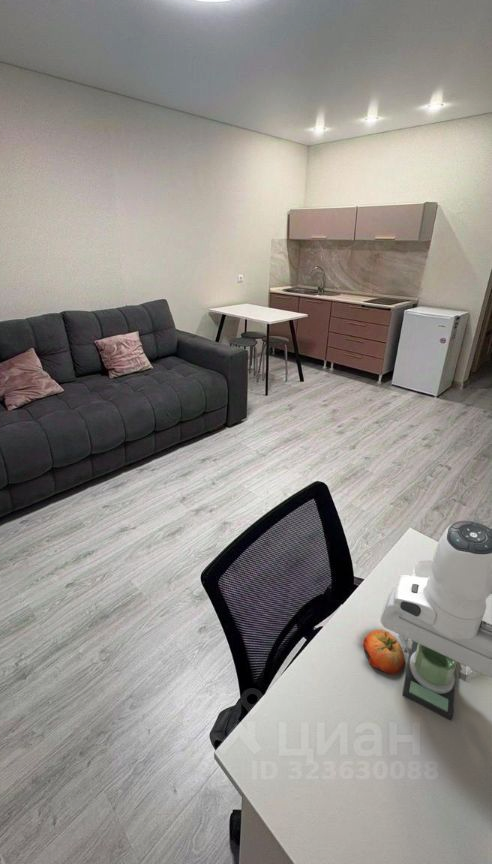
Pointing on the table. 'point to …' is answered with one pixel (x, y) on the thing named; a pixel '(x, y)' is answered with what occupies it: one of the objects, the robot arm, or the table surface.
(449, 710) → the scale
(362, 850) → the table surface
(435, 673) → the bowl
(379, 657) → the tomato
